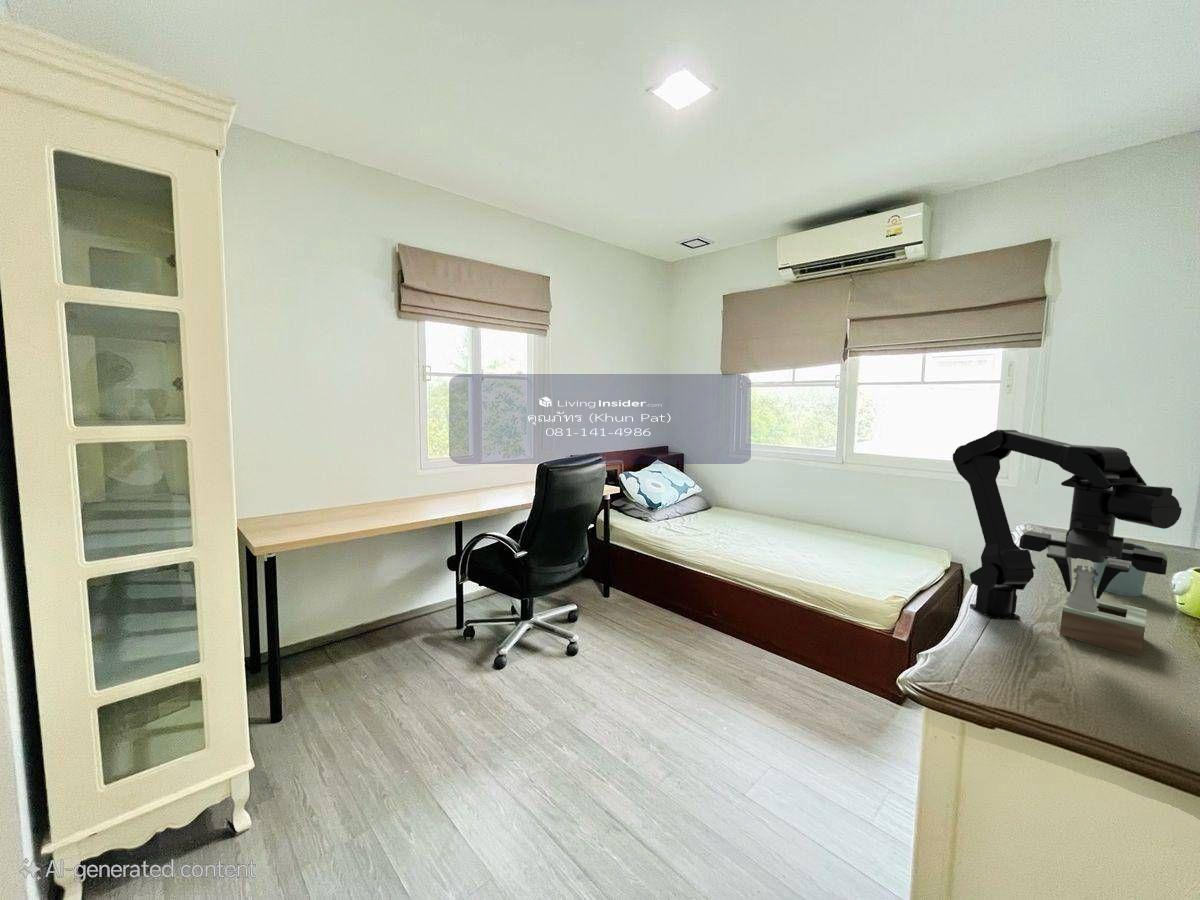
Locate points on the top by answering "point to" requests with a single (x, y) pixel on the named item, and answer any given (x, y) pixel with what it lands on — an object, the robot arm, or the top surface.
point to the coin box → (1107, 626)
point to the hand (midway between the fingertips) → (1082, 594)
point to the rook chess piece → (1083, 590)
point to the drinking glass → (1124, 576)
